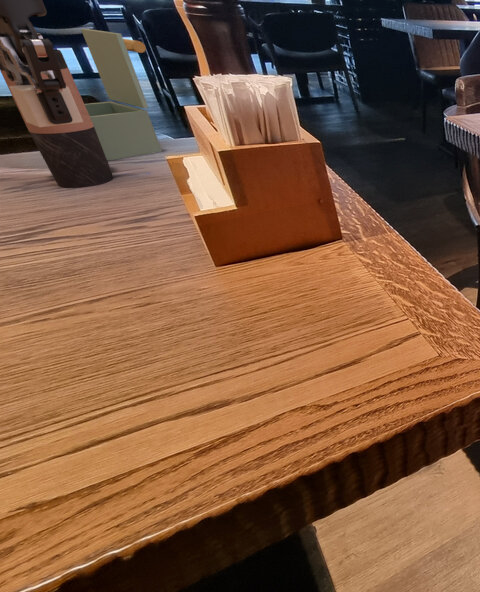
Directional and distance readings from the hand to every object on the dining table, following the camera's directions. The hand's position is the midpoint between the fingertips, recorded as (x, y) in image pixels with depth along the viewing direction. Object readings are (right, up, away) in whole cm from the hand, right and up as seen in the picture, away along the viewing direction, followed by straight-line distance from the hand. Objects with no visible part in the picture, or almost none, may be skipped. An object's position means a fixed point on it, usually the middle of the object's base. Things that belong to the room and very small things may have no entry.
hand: (54, 119), depth 69 cm
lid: (-18, +19, +27) cm, 38 cm away
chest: (-21, +3, +31) cm, 37 cm away
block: (0, 0, 0) cm, 0 cm away
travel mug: (-14, -4, +18) cm, 24 cm away
